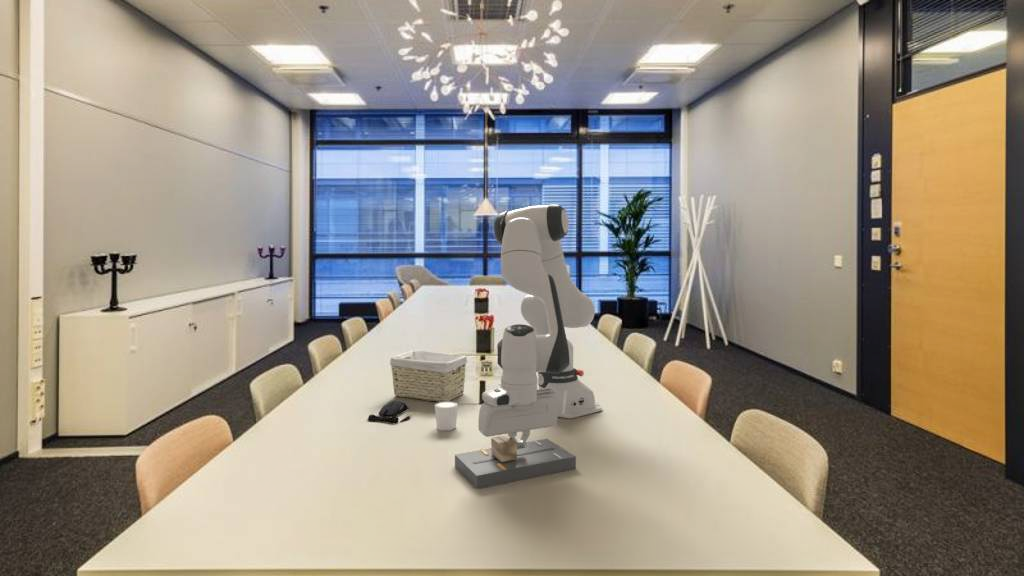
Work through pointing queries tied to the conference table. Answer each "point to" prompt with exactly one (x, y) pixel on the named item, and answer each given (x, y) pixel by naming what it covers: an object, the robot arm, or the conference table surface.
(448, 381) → the storage basket
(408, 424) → the conference table surface
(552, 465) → the fader console
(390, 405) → the computer mouse
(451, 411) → the white cup
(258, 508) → the conference table surface
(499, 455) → the fader tab
